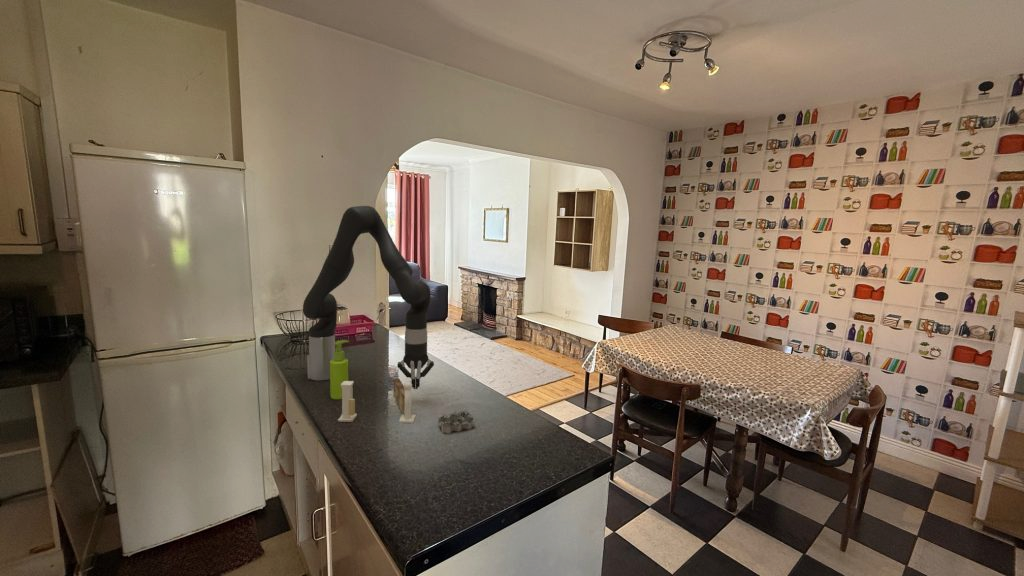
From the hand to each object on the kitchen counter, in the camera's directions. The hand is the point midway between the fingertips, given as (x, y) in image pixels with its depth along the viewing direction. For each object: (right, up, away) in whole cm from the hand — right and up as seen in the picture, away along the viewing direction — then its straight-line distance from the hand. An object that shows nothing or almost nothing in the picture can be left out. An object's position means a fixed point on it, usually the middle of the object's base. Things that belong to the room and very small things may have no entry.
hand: (415, 388), depth 141 cm
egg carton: (+16, -9, -14) cm, 23 cm away
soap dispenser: (-28, -4, +3) cm, 28 cm away
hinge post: (0, -7, -12) cm, 14 cm away
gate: (-4, -5, -4) cm, 7 cm away
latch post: (-18, -6, -13) cm, 24 cm away
